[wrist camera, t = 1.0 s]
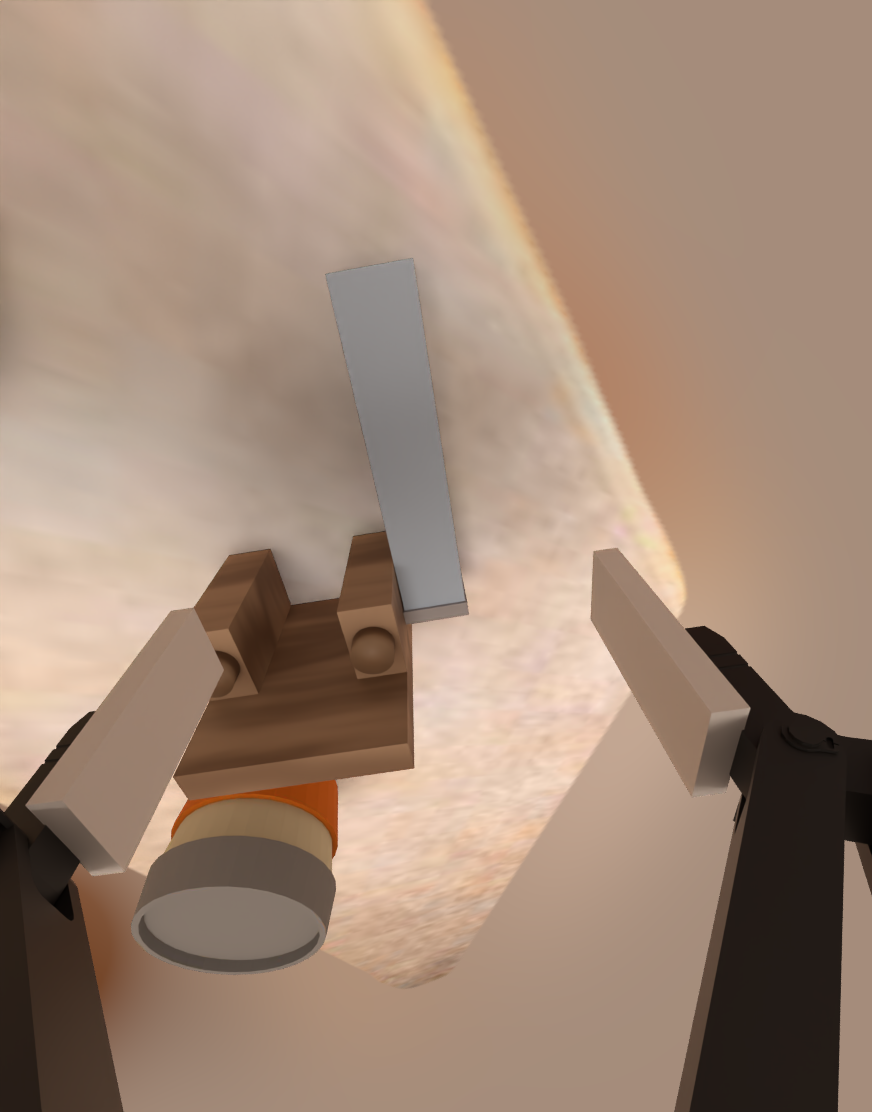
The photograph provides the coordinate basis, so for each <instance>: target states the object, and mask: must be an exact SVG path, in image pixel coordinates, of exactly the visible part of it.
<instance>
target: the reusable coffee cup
mask: <svg viewBox="0 0 872 1112" xmlns="http://www.w3.org/2000/svg"><path fill="white" fill-rule="evenodd" d="M337 847H338V787H337V784H336V781H335V780H329V781H322V782H315V783H308V784H301V785H294V786H287V787H280V788H273V789H266V790H259V791H252V792H245V793H238V794H231V795H224V796H217V797H210V798H203V799H196V800H187V802H186V804H185V805H184V807H183V809H182V811H181V812H180V814H179V816H178V817H177V819H176V821H175V823H174V826H173V828H172V831H171V842H170V843H169V845H168V847H167V849H166V850H165V852H164V854H162V855H161V856H160V857H158V859H157V860H156V861H155V862H154V863H153V864H152V865H151V868H150V870H149V873H148V876H147V879H146V882H145V885H144V887H143V890H142V893H141V896H140V900H139V902H138V905H137V908H136V911H135V915H134V917H133V920H132V923H131V930H132V935H133V937H134V939H135V941H136V942H137V943H138V944H139V945H140V946H141V947H142V948H143V949H144V950H145V951H146V952H148V953H149V954H151V955H152V956H154V957H156V958H158V959H160V960H162V961H164V962H166V963H169V964H172V965H175V966H178V967H181V968H185V969H189V970H194V971H199V972H206V973H214V974H230V975H239V974H256V973H264V972H271V971H275V970H280V969H284V968H287V967H290V966H292V965H296V964H298V963H300V962H302V961H304V960H306V959H308V958H309V957H311V956H312V955H313V954H315V953H316V952H317V951H318V950H319V949H320V948H321V946H322V945H323V943H324V941H325V938H326V934H327V929H328V925H329V920H330V915H331V911H332V906H333V901H334V897H335V892H336V882H335V879H334V876H333V874H332V859H333V857H334V856H335V853H336V850H337Z"/></svg>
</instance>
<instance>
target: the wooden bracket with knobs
mask: <svg viewBox="0 0 872 1112" xmlns="http://www.w3.org/2000/svg"><path fill="white" fill-rule="evenodd" d="M194 609H195V611H196V613H197V615H198V617H199V619H200V621H201V623H202V626H203V628H204V630H205V632H206V634H207V636H208V638H209V640H210V642H211V644H212V646H213V648H214V650H215V652H216V655H217V657H218V659H219V661H220V663H221V665H222V667H223V669H224V671H223V673H222V675H221V677H220V679H219V681H218V683H217V685H216V687H215V689H214V691H213V693H212V696H211V698H210V700H209V703H208V705H207V707H206V709H205V712H204V714H203V716H202V718H201V720H200V722H199V724H198V726H197V728H196V730H195V732H194V734H193V736H192V739H191V741H190V743H189V745H188V747H187V749H186V751H185V753H184V755H183V757H182V759H181V761H180V763H179V765H178V768H177V770H176V772H175V774H174V776H173V778H174V779H175V781H176V782H177V784H178V785H179V787H180V788H181V789H182V791H183V792H184V794H185V795H186V797H187V798H188V800H196V799H203V798H210V797H217V796H224V795H231V794H238V793H245V792H252V791H259V790H266V789H273V788H280V787H287V786H294V785H301V784H308V783H315V782H322V781H329V780H336V779H343V778H350V777H357V776H364V775H371V774H378V773H385V772H392V771H399V770H406V769H413V768H414V726H413V669H412V624H408V625H406V622H405V618H404V614H403V601H402V597H401V593H400V589H399V584H398V580H397V576H396V572H395V567H394V563H393V559H392V555H391V550H390V546H389V542H388V538H387V533H386V531H385V532H378V533H372V534H365V535H359V536H353V539H352V544H351V549H350V553H349V558H348V562H347V567H346V572H345V576H344V581H343V585H342V590H341V595H340V598H338V599H331V600H324V601H318V602H311V603H305V604H298V605H291V604H290V601H289V599H288V596H287V593H286V590H285V588H284V585H283V582H282V580H281V577H280V574H279V571H278V569H277V566H276V563H275V561H274V558H273V555H272V553H271V550H270V549H268V550H261V551H255V552H248V553H242V554H236V555H229V556H228V558H227V559H226V561H225V562H224V564H223V565H222V567H221V568H220V570H219V571H218V573H217V574H216V576H215V577H214V579H213V580H212V582H211V583H210V584H209V586H208V587H207V589H206V590H205V592H204V593H203V595H202V596H201V598H200V599H199V601H198V602H197V604H196V605H195V607H194Z"/></svg>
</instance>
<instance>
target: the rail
mask: <svg viewBox="0 0 872 1112" xmlns="http://www.w3.org/2000/svg"><path fill="white" fill-rule="evenodd" d="M325 275H326V279H327V284H328V288H329V292H330V296H331V301H332V305H333V309H334V313H335V317H336V322H337V326H338V330H339V334H340V339H341V343H342V347H343V351H344V356H345V360H346V364H347V368H348V373H349V377H350V381H351V385H352V389H353V394H354V398H355V402H356V406H357V411H358V415H359V419H360V423H361V428H362V432H363V436H364V440H365V445H366V449H367V453H368V457H369V461H370V466H371V470H372V474H373V478H374V483H375V487H376V491H377V495H378V500H379V504H380V508H381V512H382V517H383V521H384V525H385V529H386V533H387V538H388V542H389V546H390V550H391V555H392V559H393V563H394V567H395V572H396V576H397V580H398V584H399V589H400V593H401V597H402V601H403V614H404V618H405V622H406V625H408V624H414V623H420V622H426V621H433V620H439V619H445V618H451V617H457V616H464V615H469V612H468V605H467V599H466V594H465V589H464V584H463V579H462V574H461V569H460V563H459V557H458V550H457V544H456V537H455V530H454V524H453V517H452V511H451V504H450V498H449V491H448V485H447V478H446V471H445V465H444V458H443V452H442V445H441V439H440V432H439V426H438V419H437V412H436V406H435V399H434V393H433V386H432V380H431V373H430V367H429V360H428V354H427V347H426V340H425V334H424V327H423V321H422V314H421V308H420V301H419V295H418V288H417V281H416V275H415V268H414V262H413V258H410V259H404V260H399V261H393V262H388V263H382V264H377V265H371V266H366V267H360V268H355V269H349V270H344V271H339V272H333V273H328V274H325Z"/></svg>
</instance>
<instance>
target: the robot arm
mask: <svg viewBox="0 0 872 1112" xmlns="http://www.w3.org/2000/svg"><path fill="white" fill-rule="evenodd" d="M591 621H592V622H593V624H594V626H595V628H596V629H597V631H598V633H599V635H600V637H601V638H602V640H603V642H604V644H605V645H606V647H607V649H608V651H609V652H610V654H611V656H612V658H613V659H614V661H615V663H616V665H617V666H618V668H619V670H620V672H621V674H622V675H623V677H624V679H625V681H626V682H627V684H628V686H629V688H630V689H631V691H632V693H633V695H634V696H635V698H636V700H637V702H638V703H639V705H640V707H641V709H642V710H643V712H644V714H645V716H646V718H647V719H648V721H649V723H650V725H651V726H652V728H653V730H654V732H655V733H656V735H657V737H658V739H659V740H660V742H661V744H662V746H663V748H664V749H665V751H666V753H667V754H668V756H669V758H670V760H671V762H672V763H673V765H674V767H675V769H676V770H677V772H678V774H679V776H680V777H681V779H682V781H683V783H684V785H685V786H686V788H687V790H688V791H689V793H690V795H691V797H698V796H706V795H714V794H721V793H726V790H727V787H728V783H729V780H730V776H731V778H732V779H733V781H734V782H735V784H736V785H737V787H738V788H739V790H740V791H741V792H742V795H741V798H740V801H739V804H738V807H737V810H736V813H735V817H734V820H733V821H735V825H734V829H733V834H732V839H731V844H730V848H729V853H728V858H727V863H726V867H725V872H724V877H723V882H722V887H721V892H720V896H719V901H718V906H717V910H716V915H715V920H714V925H713V930H712V934H711V939H710V944H709V948H708V953H707V958H706V963H705V968H704V972H703V977H702V982H701V987H700V992H699V996H698V1001H697V1006H696V1010H695V1016H694V1020H693V1025H692V1030H691V1035H690V1039H689V1044H688V1049H687V1053H686V1058H685V1063H684V1068H683V1072H682V1078H681V1082H680V1087H679V1092H678V1096H677V1101H676V1106H675V1111H674V1112H838V1078H839V1076H838V1075H839V1040H840V1037H839V1036H840V999H841V960H842V920H843V919H842V918H843V878H844V840H847V841H852V842H855V843H856V846H857V850H858V852H859V856H860V859H861V862H862V866H863V869H864V872H865V875H866V878H867V882H868V885H869V888H870V891H871V894H872V740H866V739H858V738H850V737H845V736H840V735H837V734H836V733H835V731H833V730H832V729H831V728H829V727H828V726H826V725H825V724H823V723H822V722H820V721H818V720H816V719H814V718H811V717H809V716H807V715H802V714H798V713H794V712H793V711H792V710H790V708H789V707H788V706H787V705H786V704H785V703H784V702H783V701H782V700H781V699H780V697H779V696H778V695H777V694H776V693H775V692H774V691H773V690H772V689H771V688H770V687H769V686H768V685H767V683H765V681H764V680H763V679H762V678H761V677H760V676H759V675H758V674H757V673H756V672H755V671H754V669H753V668H752V667H749V666H748V663H747V662H746V661H745V660H744V659H743V658H742V657H741V655H738V654H737V651H736V650H735V649H734V648H733V647H732V646H731V645H730V644H729V643H728V641H727V640H726V639H725V638H724V637H722V636H720V635H719V634H717V633H716V632H714V631H712V630H710V629H709V628H707V627H705V626H700V627H693V628H685V629H684V627H683V626H682V625H681V624H680V623H679V621H678V620H677V619H676V618H675V617H674V615H673V614H672V613H671V612H670V611H669V609H668V608H667V607H666V606H665V605H664V603H663V602H662V601H661V600H660V599H659V597H658V596H657V595H656V594H655V593H654V591H653V590H652V589H651V588H650V587H649V585H648V584H647V583H646V582H645V581H644V579H643V578H642V577H641V576H640V575H639V573H638V572H637V571H636V570H635V569H634V567H633V566H632V565H631V564H630V563H629V561H628V560H627V559H626V558H625V557H624V555H623V554H622V553H621V552H620V551H619V549H618V548H613V549H606V550H599V551H594V552H593V575H592V599H591ZM223 671H224V669H223V667H222V665H221V663H220V661H219V659H218V657H217V655H216V652H215V650H214V648H213V646H212V644H211V642H210V640H209V638H208V636H207V634H206V632H205V630H204V628H203V626H202V623H201V621H200V619H199V617H198V615H197V613H196V611H195V609H194V608H188V609H181V610H174V611H171V612H170V613H169V614H168V616H167V617H166V618H165V620H164V621H163V622H162V624H161V625H160V626H159V628H158V629H157V630H156V632H155V633H154V634H153V636H152V637H151V638H150V640H149V641H148V642H147V644H146V645H145V646H144V648H143V649H142V650H141V652H140V653H139V654H138V656H137V657H136V658H135V660H134V661H133V662H132V664H131V665H130V666H129V668H128V669H127V670H126V672H125V673H124V674H123V676H122V677H121V678H120V680H119V681H118V682H117V684H116V685H115V686H114V688H113V689H112V690H111V692H110V693H109V694H108V696H107V697H106V698H105V700H104V701H103V702H102V704H101V705H100V706H99V708H98V709H97V710H96V711H92V712H89V713H87V714H86V715H85V716H84V717H83V718H82V719H80V720H79V721H78V722H77V723H76V724H74V725H73V726H72V727H71V728H70V729H69V730H68V731H67V733H66V734H65V735H64V737H63V738H62V739H61V740H60V742H59V743H58V744H57V746H56V749H53V751H52V752H51V753H50V754H49V756H48V757H47V758H46V760H45V764H42V765H41V766H40V767H39V769H38V770H37V771H36V772H35V774H34V775H33V776H32V778H31V779H30V780H29V781H28V783H27V784H26V785H25V787H24V788H23V789H22V790H21V792H20V793H19V794H18V796H17V797H16V798H15V799H14V801H13V802H12V803H11V804H10V806H9V807H8V808H7V810H6V811H5V812H3V811H2V810H1V809H0V1112H123V1107H122V1102H121V1098H120V1093H119V1088H118V1083H117V1078H116V1073H115V1069H114V1064H113V1059H112V1054H111V1049H110V1044H109V1039H108V1034H107V1029H106V1025H105V1020H104V1015H103V1010H102V1005H101V1000H100V995H99V990H98V985H97V981H96V976H95V971H94V966H93V961H92V956H91V952H90V947H89V942H88V937H87V932H86V927H85V922H84V917H83V912H82V908H81V903H80V898H79V893H78V888H77V886H76V885H75V883H74V882H73V880H71V876H72V875H73V873H74V871H75V870H76V868H77V866H78V864H79V863H81V864H82V865H83V867H84V868H86V870H87V871H88V872H89V873H90V874H91V875H92V876H98V875H106V874H113V873H120V872H125V871H126V869H127V867H128V865H129V863H130V861H131V859H132V857H133V855H134V853H135V851H136V849H137V847H138V845H139V843H140V841H141V838H142V836H143V834H144V832H145V830H146V828H147V826H148V824H149V822H150V820H151V818H152V816H153V814H154V812H155V810H156V808H157V806H158V804H159V802H160V800H161V798H162V796H163V794H164V792H165V789H166V787H167V785H168V783H169V781H170V779H171V777H172V775H173V773H174V771H175V769H176V767H177V765H178V763H179V761H180V759H181V757H182V755H183V753H184V751H185V749H186V747H187V745H188V742H189V740H190V738H191V736H192V734H193V732H194V730H195V728H196V726H197V724H198V722H199V720H200V718H201V716H202V714H203V712H204V710H205V708H206V706H207V704H208V702H209V700H210V698H211V696H212V693H213V691H214V689H215V687H216V685H217V683H218V681H219V679H220V677H221V675H222V673H223Z"/></svg>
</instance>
